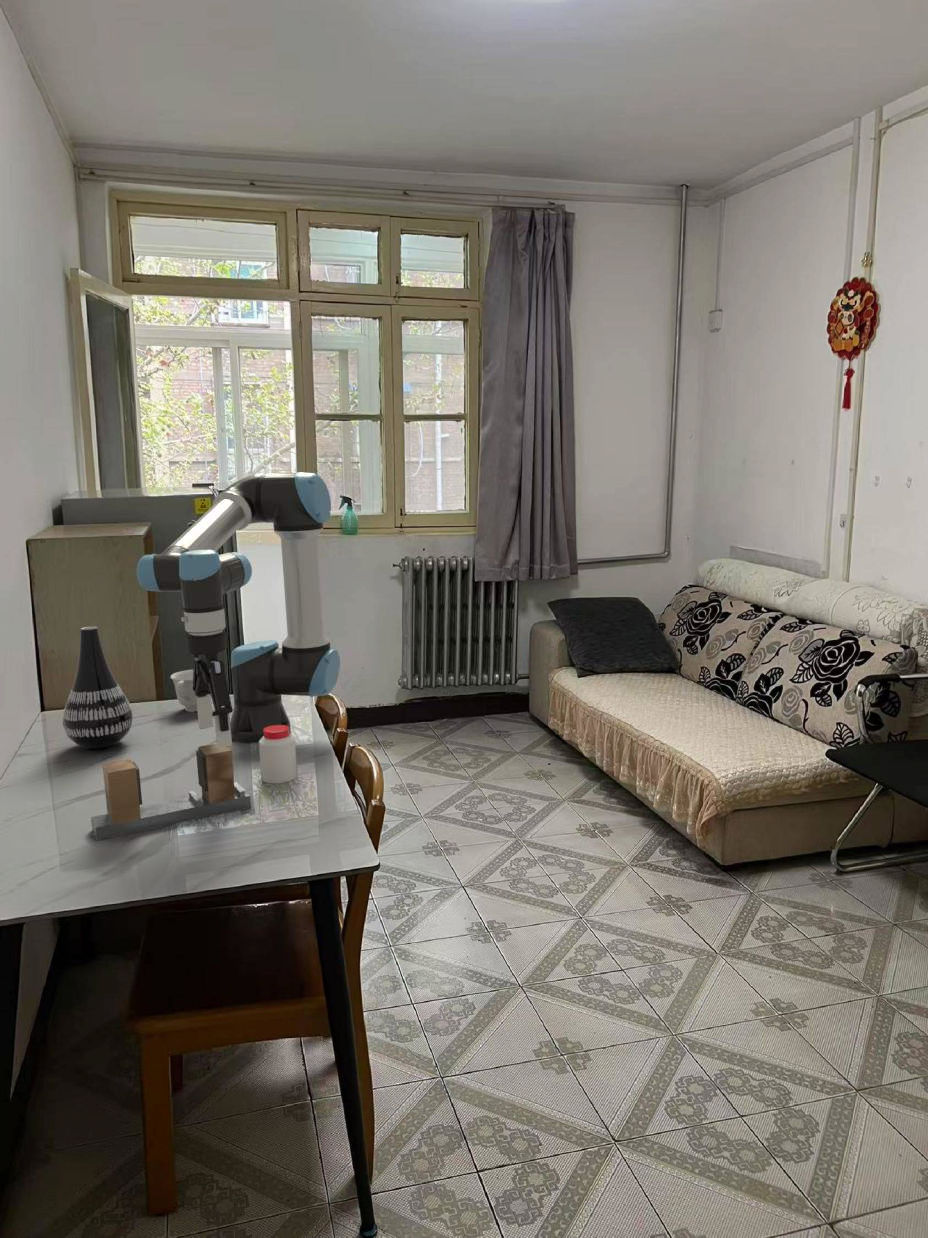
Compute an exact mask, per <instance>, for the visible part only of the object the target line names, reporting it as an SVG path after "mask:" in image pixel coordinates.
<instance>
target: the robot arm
mask: <svg viewBox="0 0 928 1238" xmlns="http://www.w3.org/2000/svg"><path fill="white" fill-rule="evenodd" d="M329 492H330V491H329V489H328V486H327V484H326V481H324V479H323V478H322V477H321V476H320V475H319V474H317V473H314V472H301V471H298V472H278V473H277V472H274V473H256V474H252V475H248V476H246V477H243V478H242V479H239V480H237V481H236V482H234V483H232V484H231V485H229V486H228V487H226V488H225V489H223V490H222V491H221V492H220V493H219V494H218V495H216V497H215V498H214V499H213V501H212V504H211V507H210V508H209V509H207V511H206V512H205V513H203V515H201V516H200V517H199V518H198V519H197V520H196V521H195V522H194V523H193V524H192V525H190V526H189V527H188V529H186V530H185V531H184V532H183V533H182V534H181V535H180V536H179V537H177V539H175V540H174V541H173V543H171V544H170V545H169V546H168V547H167V548H166V549H165V550H164V551H163V552H162V553H159V554H157V553H152V554H145V555H143V556H141V558H140V559H139V560H138V562H137V565H136V571H135V572H136V578H137V581H138V584H139V586H140V587H141V588H142V589H143V590H145V591H148V592H149V591H150V592H159V593H164V592H168V593H169V592H171V593H172V592H174V593H175V592H176V593H177V592H181V598H182V599H181V600H182V609H183V616H182V617H181V618H180V619H181V622H182V623H184V629H185V631H186V632H187V633H186V635H185V645H186V652H187V653H188V654H190V655H192V656H193V666H192V667H193V669H192V670H193V687H192V688H193V691H195V695H196V696H198V697H196V700H197V710H198V711H197V719H198V729H199V730H204V729H208V728H214V727H215V729H214V731H215V739H216V744H217V748H221V747H226V746H228V747H229V746H233V741H235V742H239V743H249V744H250V743H251V744H253V743H259V740H260V739H261V738H262V737H263V736H264V732H263V729H264V728H266V727H268V726H273V725H286V726H288V727H289V734H291V732H292V730H291V727H292V726H291V722H290V718H289V716H288V714H287V712H286V709H285V707H284V704H283V699H282V698H283V697H282V696H299V697H300V696H303V697H304V696H305V697H311V698H313V697H324V696H327V695H329V694H330V693H331V692H332V691H333V690H334V688H335V687H336V685H337V682H338V679H339V676H340V675H339V674H340V669H341V668H340V667H341V658H340V655H339V651H338V650H337V649H335V648H331V640H330V638H328V637H327V636H326V635H325V633H324V625H323V624H324V623H323V612H322V611H323V610H322V608H323V607H322V592H321V591H322V590H321V578H320V577H321V574H320V560H319V544H318V541H319V540H318V536H319V534H321V533H322V531H323V530H324V523H326V522H328V520H329V519H330V517H331V511H332V501H331V500H332V499H331V496H330V493H329ZM258 523H260V524H261V523H267V524H269V523H273V532H274V533H275V534H276V535H277V536H278V537H279V538H280V541H281V542H280V544H281V545H280V546H281V557H282V559H281V560H282V561H281V562H282V573H283V574H282V575H283V589H284V601H285V603H284V604H285V617H286V629H287V630H286V633H287V634H286V635H287V636H286V638H285V639H284V640H283V641H282V642H281V647H279V646H280V644H279V642H278V641H277V640H274V639H273V640H272V639H271V640H262V641H256V642H250V643H247V644H243V645H239V646H238V647H236V648H234V649H233V650H232V652H231V653H230V654H231V655H230V656H231V657H230V669H231V680H232V692H233V705H234V706H232V701H231V696H230V691H229V686H228V681H227V678H226V672H225V671H226V670H225V663H224V661H223V660H222V661H221V660H219V657H218V655H219V654H220V653H222V652H225V651H226V650H227V649H228V640H227V632H226V631H225V629H226V628H227V627H226V626H227V625H226V624H227V623H226V615H225V607H224V595H225V594H228V593H231V592H234V591H238V590H240V589H241V588H242V587H244V586H246V585H247V584H248V582H250V580H251V578H252V575H253V569H252V568H253V567H252V564H251V561H250V560H249V559H248V558H247V557H246V556H245V555H244V554H243V553H240V552H236V551H234V552H233V551H232V552H224V553H222V554H219V552H218V550H219V549H220V548H221V547H222V546H223V545H224V544H226V542H227V541H228V540H229V539H230V538H231V537H232V536H233V534H235V533H236V532H237V531H241V530H244V529H246V527H248V526H249V525H251V524H258ZM208 694H211V696H210V695H208ZM206 695H208V696H206ZM212 704H213V708H214V711H213V708H212ZM230 714H232V715H231V717H230Z"/></svg>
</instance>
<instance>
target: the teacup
mask: <svg viewBox="0 0 928 1238" xmlns="http://www.w3.org/2000/svg"><path fill="white" fill-rule="evenodd" d="M170 679H171V680H172V681H173V685H174V690H175V693H176V697H177V701H178V703H179V704H181V705H182V706H183V707H185V708H184V709H185V711H186V712H190V713H192V712H195V711H196V712H198V710H197V700H196V697H198V696H196V695H195V691H193V688H192V687H193V669H186V670H182V671H181V670H180V671H177V672H174V673H172V674H171V675H170ZM208 695H210V696H211V694H208ZM208 695H206V696H208ZM196 712H195V713H196Z"/></svg>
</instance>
